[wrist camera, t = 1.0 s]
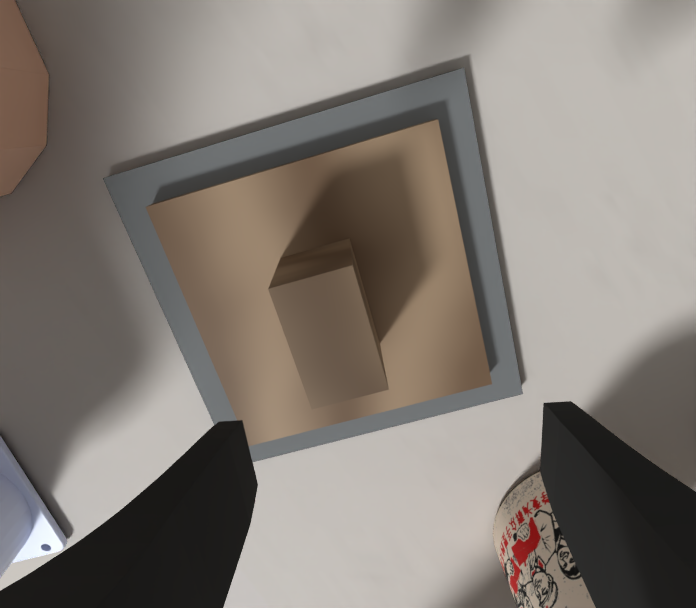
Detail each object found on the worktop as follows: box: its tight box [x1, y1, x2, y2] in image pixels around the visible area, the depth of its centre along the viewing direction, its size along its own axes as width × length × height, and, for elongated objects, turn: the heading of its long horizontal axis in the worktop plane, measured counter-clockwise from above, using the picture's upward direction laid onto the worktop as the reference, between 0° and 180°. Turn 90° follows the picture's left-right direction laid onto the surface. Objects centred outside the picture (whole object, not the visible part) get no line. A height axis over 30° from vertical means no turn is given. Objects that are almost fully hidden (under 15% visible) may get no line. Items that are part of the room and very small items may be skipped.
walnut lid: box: [146, 119, 492, 446], centre depth 20 cm, size 12×12×5 cm
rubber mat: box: [103, 68, 523, 462], centre depth 22 cm, size 15×15×1 cm
